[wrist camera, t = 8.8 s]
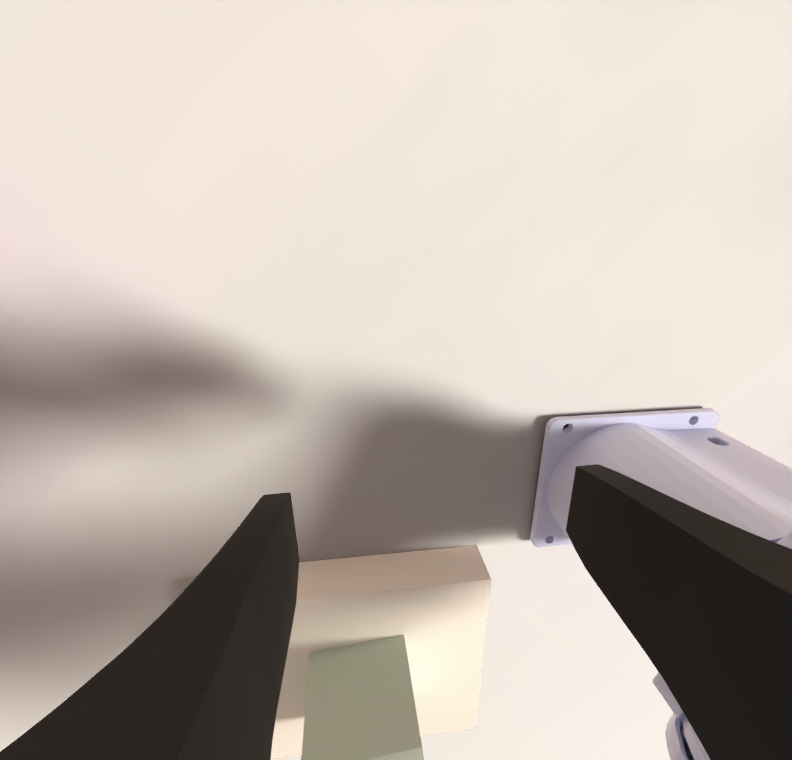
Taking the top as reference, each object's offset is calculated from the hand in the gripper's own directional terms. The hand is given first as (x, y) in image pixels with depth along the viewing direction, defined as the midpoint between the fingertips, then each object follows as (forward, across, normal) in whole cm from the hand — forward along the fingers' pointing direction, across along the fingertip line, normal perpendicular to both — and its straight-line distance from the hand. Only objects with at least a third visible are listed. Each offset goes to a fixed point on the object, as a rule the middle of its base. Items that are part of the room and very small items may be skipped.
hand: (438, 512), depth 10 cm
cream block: (+10, +2, +16) cm, 19 cm away
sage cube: (+7, +2, +16) cm, 18 cm away
